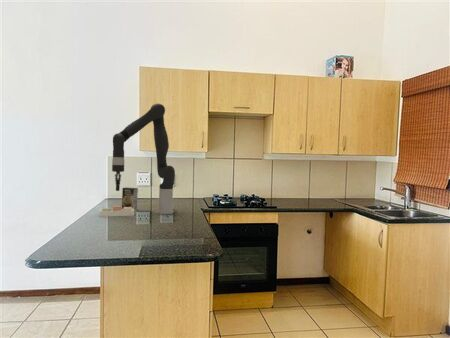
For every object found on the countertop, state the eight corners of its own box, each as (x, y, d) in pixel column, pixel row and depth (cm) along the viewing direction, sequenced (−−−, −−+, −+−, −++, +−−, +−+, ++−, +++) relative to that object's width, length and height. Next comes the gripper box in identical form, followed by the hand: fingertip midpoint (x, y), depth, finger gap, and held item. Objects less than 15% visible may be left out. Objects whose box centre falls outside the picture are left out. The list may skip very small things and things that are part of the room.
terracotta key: (121, 210, 210) (121, 205, 210) (121, 211, 205) (121, 207, 205) (113, 210, 209) (113, 205, 209) (112, 211, 204) (113, 207, 204)
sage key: (110, 211, 208) (111, 207, 208) (110, 213, 203) (110, 208, 203) (102, 212, 207) (102, 207, 207) (102, 213, 202) (102, 208, 202)
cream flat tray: (133, 213, 214) (133, 208, 214) (134, 215, 207) (134, 210, 207) (100, 214, 208) (100, 209, 207) (99, 216, 200) (99, 211, 200)
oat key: (131, 211, 213) (131, 207, 212) (131, 212, 208) (131, 208, 208) (123, 211, 211) (123, 207, 211) (123, 213, 206) (123, 208, 206)
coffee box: (121, 210, 225) (121, 187, 225) (126, 209, 232) (126, 187, 231) (132, 211, 223) (133, 188, 223) (137, 209, 229) (138, 187, 229)
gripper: (124, 164, 201) (123, 191, 201) (124, 164, 213) (123, 189, 214) (112, 164, 198) (111, 191, 199) (112, 163, 211) (111, 189, 212)
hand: (117, 190), depth 207 cm, fingers closed
